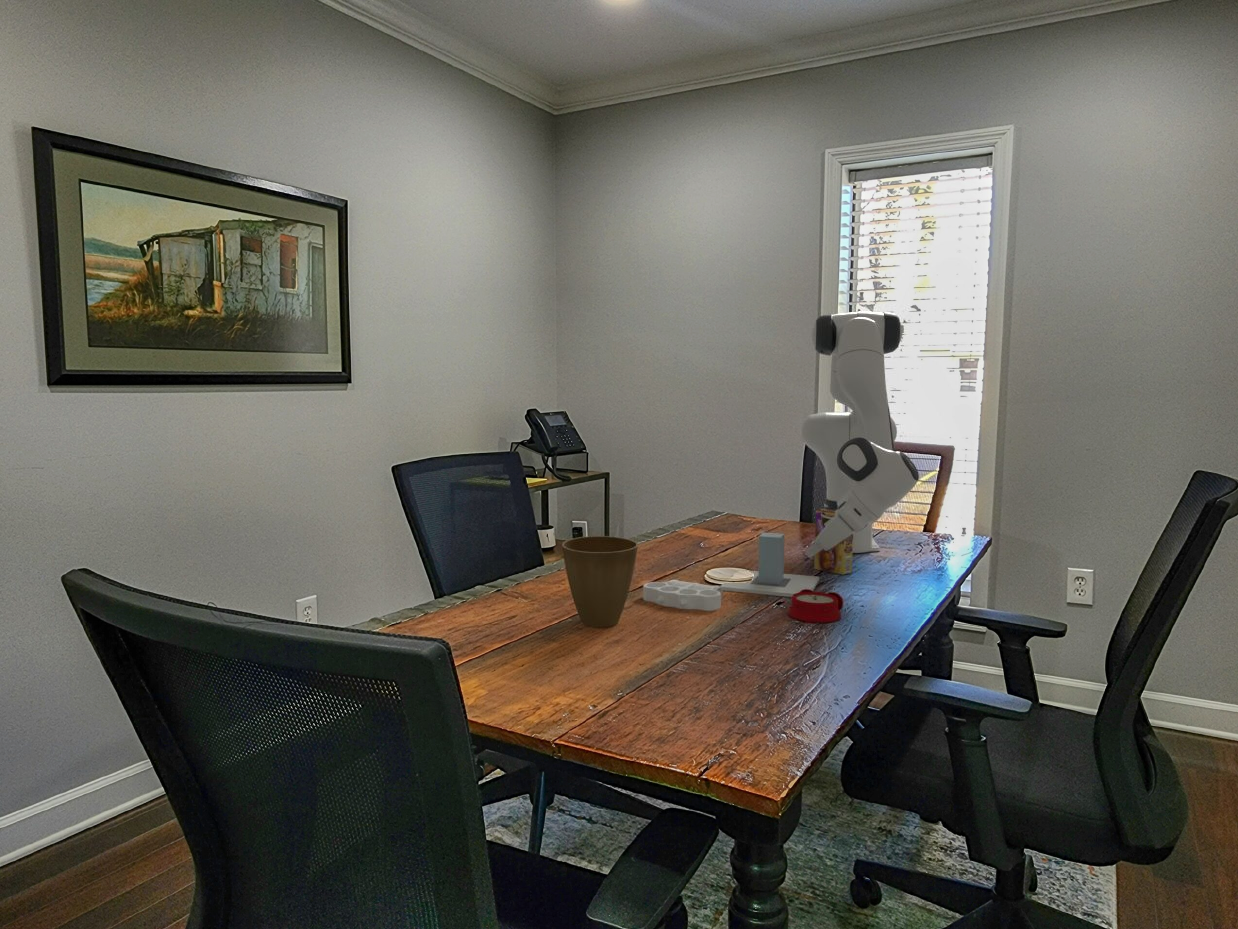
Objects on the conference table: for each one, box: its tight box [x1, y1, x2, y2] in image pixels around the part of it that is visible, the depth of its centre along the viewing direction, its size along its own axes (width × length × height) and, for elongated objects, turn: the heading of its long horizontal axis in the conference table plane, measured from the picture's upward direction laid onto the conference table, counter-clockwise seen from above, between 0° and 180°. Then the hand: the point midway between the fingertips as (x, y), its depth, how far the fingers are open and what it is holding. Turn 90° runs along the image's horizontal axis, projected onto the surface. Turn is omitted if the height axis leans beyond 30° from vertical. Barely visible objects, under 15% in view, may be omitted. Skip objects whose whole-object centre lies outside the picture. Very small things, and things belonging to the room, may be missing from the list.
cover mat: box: [719, 570, 820, 598], centre depth 189 cm, size 18×20×1 cm
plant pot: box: [561, 535, 639, 628], centre depth 159 cm, size 15×15×16 cm
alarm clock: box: [788, 589, 844, 624], centre depth 166 cm, size 10×6×15 cm
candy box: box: [813, 508, 854, 575], centre depth 202 cm, size 9×4×15 cm, turn 39°
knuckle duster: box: [642, 579, 724, 612], centre depth 175 cm, size 3×18×15 cm
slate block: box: [757, 532, 785, 585], centre depth 188 cm, size 5×5×11 cm
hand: (810, 551), depth 185 cm, fingers open, 8 cm apart
